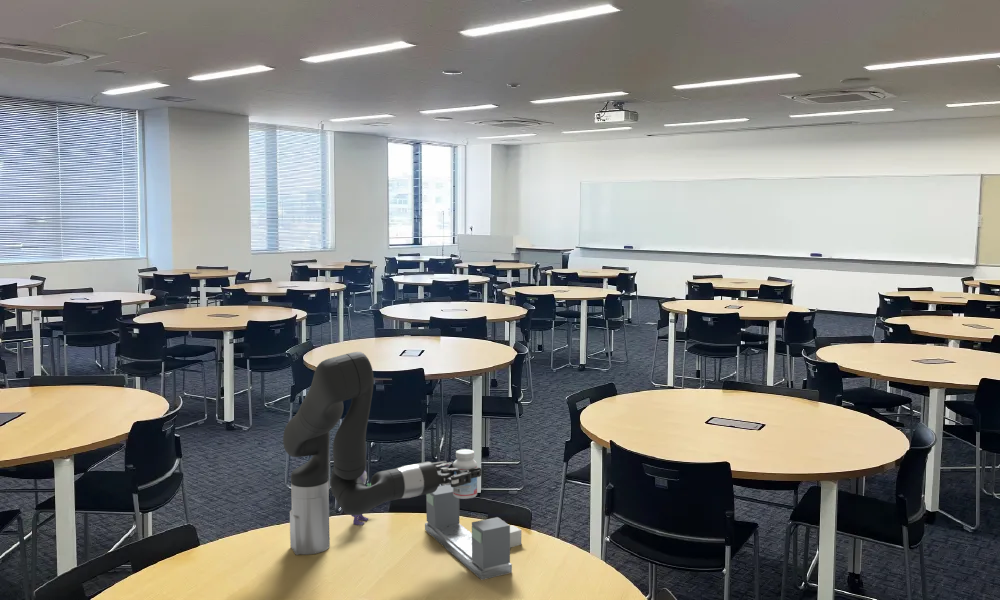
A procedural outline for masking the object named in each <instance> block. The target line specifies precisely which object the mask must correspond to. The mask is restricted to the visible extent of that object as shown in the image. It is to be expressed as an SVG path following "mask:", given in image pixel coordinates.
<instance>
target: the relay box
mask: <svg viewBox="0 0 1000 600" xmlns="http://www.w3.org/2000/svg"><path fill="white" fill-rule="evenodd" d="M520 545H522V529H521V528H518V527H517V526H515V525H512V524H510V549H511V548H515V547H517V546H520Z"/></svg>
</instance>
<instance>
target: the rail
mask: <svg viewBox="0 0 1000 600" xmlns="http://www.w3.org/2000/svg"><path fill="white" fill-rule="evenodd" d="M425 530H426V531H427V532H426V531H425ZM424 531H425V532H426V533H427V534H428V535H430V536H431V537H432V536H433V537H434V538H435V539H434V538H433V537H432V538H433V539H434V540H435V541H437V543H439V545H441V546H442V545H443V546H444V547H443V546H442V547H443V548H445V549H446V550H447V551H448V552H449V553H450V554H451V555H453V556H454V557H455V558H456V559H457V560H458V562H461V563H462V565H464V566H465V567H466V568H467V569H469V571H471V572H472V573H473V574H475V576H476V577H477V578H479V579H480V580H486V579H491V578H495V577H499V576H503V575H508V574H512V573H513V571H512V570H513V564H512V563H511V562H510V563H507V564H502V565H498V566H494V567H490V568H485V569H483V568H482V567H481V566H479V565H478V564H477V563H476V562H475V561H473V560H472V531H470V530H469V529H467V528H466V527H465V526H463V524H461V523H459V524H455V525H450V526H445V527H440V528H434V527H433V526H432V525H431V524H430V523H429V522H424Z"/></svg>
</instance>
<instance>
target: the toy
mask: <svg viewBox="0 0 1000 600" xmlns="http://www.w3.org/2000/svg"><path fill="white" fill-rule="evenodd" d="M367 473H368V472H367V471H366V470H365V471H364V473H363V474H362V475H361V476H360V478H361V480H362V481H363V483H364V484H365V485H366V487H369V486H371V482H369V483H366V480H367V479H368V474H367ZM350 516H351V517H353V522H352V523H353V525H355V526H363V525H364V524H365V522H366V521H369V517H366V516H364V515H363V514H360V515H350Z"/></svg>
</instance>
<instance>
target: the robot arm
mask: <svg viewBox="0 0 1000 600" xmlns="http://www.w3.org/2000/svg"><path fill="white" fill-rule="evenodd" d="M374 381H375V380H374V371H373V367H372V363H371V361H370V360H369V358H368V356H367V355H366V354H365V353H363V352H362V351H353V352H348V353H345V354H341V355H337V356H333V357H330V358H327V359H325V360H322V361H321V362H319V364H317V366H316V367H315V370H314V373H313V377H312V382H311V385H310V387H309V390H308V392H307V394H306V396H305V397H304V398H303V401H302V402H301V404H300V407H299V409H298V410H297V412H296V414H295V415H294V416H293V417H292V418H291V419H290V420H289V421H288V422H287V423H286V426H285V427H284V430H283V437H282V443H283V448H284V450H285V452H286V454H287V455H289V456H291V457H293V458H301V457H310V456H312V457H311V458H310V459H309V460H307V462H305V463H303V464H301V465H300V466H298V467H296V468H294V469H293V470H292V471H291V474H290V486H291V487H290V488H291V489H290V492H291V493H290V494H291V495H290V496H291V498H290V499H291V510H289V536H290V537H289V539H290V548H291V550H292V551H293V553H294V555H298V556H299V555H315V554H319V553H320V554H321V553H322V552H325V551H327V550H328V549H329V548H330V545H331V544H330V543H331V542H330V540H331V539H330V538H331V537H330V497H329V496H330V495H329V494H330V491H331V493H332V495H333V497H334V500H335V501H336V502H337V504H338V505H339V507H340V509H341V510H342V512H343V513H345V514H346V515H350V516H351V515H360V514H362V515H363V514H365V513H367V512H369V511H371V510H372V509H374V508H376V507H378V506H380V505H382V504H384V503H386V502H389V501H390V502H391V501H395V500H400V499H410V498H414V497H415V498H416V497H418V496H419V497H420V496H423V495H426V494H429V493H433V492H435V491H436V490H437V488H438V486H444V485H451V487H457V486H460V485H464V484H468V483H471V478H475V477H477V478H479V477H481V476H482V468H481V467H479V466H477V468H472V469H466V470H459V468H453V463H454V462H451V461H449V462H447V461H446V460H442V461H437V462H432V461H423V462H418V463H413V464H407V465H402V466H399V467H396V468H392V469H391V468H390V469H385V470H381V471H377V472H376V473H374V474H373V475H372V477H371V481H370V483H371V486H369V487H367V485H366V483H365V484H364V483H363V481H362V480H361V478H360V476H361V475H362V474H363V473H364V471H366V465H367V451H366V450H367V449H366V447H367V446H366V442H367V441H366V439H367V429H368V424H369V423H368V421H369V418H370V413H371V412H370V411H371V406H372V398H373V392H374ZM348 400H351V403H350V406H349V407H348V410H347V412H346V415H345V416H344V418H343V420H342V422H341V423H340V425H339V427H338V429H337V431H336V433H335V435H334V439H333V443H332V444H333V445H332V456H333V458H332V459H333V460H332V461H333V468H332V470H331V471H332V472H331V475H330V476H331V477H330V480H329V466H330V464H329V463H330V461H329V457H330V455H329V454H330V431H331V430H332V429H334V428H335V426H336V425H337V424H338V422H339V421H340V419H341V418H342V416H343V413H344V409H345V408H344V402H345V401H348ZM454 472H456V475H454ZM460 473H461V474H460ZM329 481H330V485H329ZM329 487H330V489H329Z"/></svg>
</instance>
